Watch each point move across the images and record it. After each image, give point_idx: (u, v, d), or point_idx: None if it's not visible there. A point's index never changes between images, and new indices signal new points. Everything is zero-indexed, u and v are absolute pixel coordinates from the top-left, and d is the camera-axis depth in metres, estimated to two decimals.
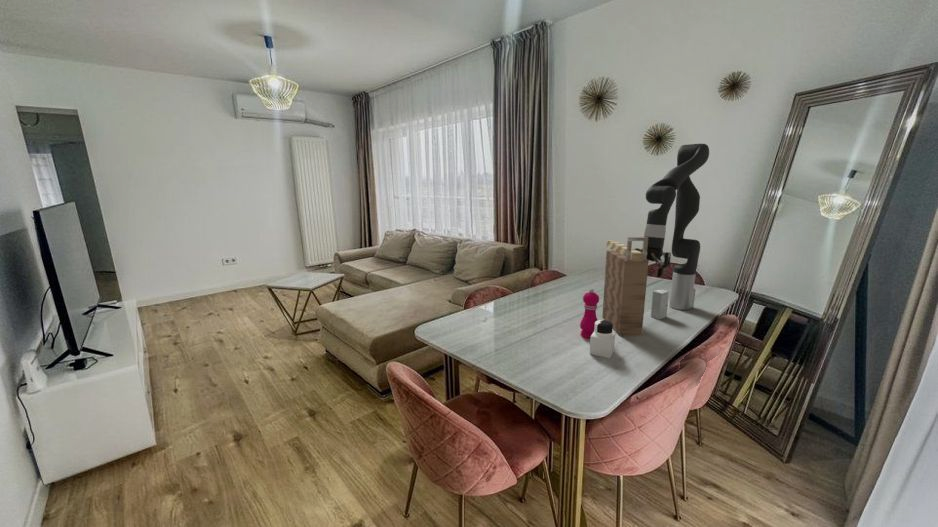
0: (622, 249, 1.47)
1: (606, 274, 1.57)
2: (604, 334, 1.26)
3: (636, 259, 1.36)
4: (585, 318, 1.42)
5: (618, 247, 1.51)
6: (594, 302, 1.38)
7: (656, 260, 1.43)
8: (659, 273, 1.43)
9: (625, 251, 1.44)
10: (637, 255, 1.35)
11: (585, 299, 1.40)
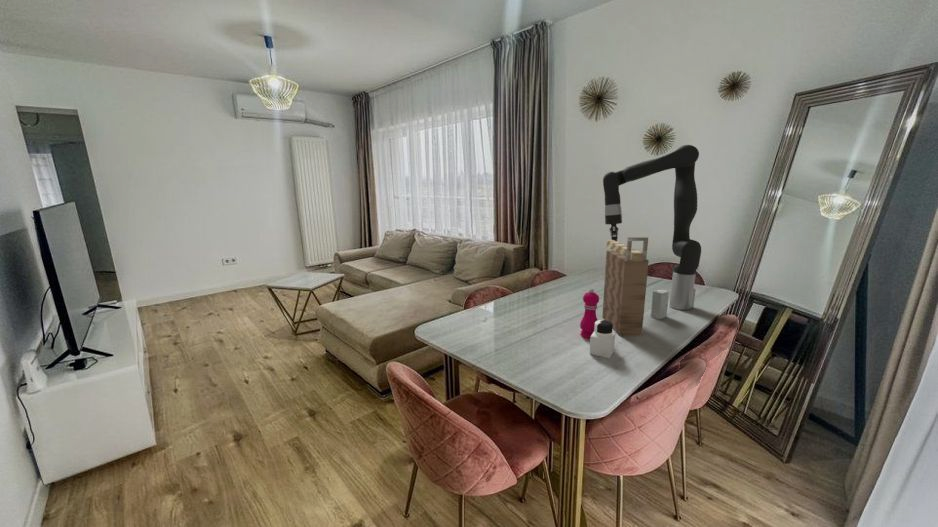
0: (622, 249, 1.47)
1: (606, 274, 1.57)
2: (604, 334, 1.26)
3: (636, 259, 1.36)
4: (585, 318, 1.42)
5: (618, 247, 1.51)
6: (594, 302, 1.38)
7: (610, 234, 1.73)
8: None
9: (625, 251, 1.44)
10: (637, 255, 1.35)
11: (585, 299, 1.40)
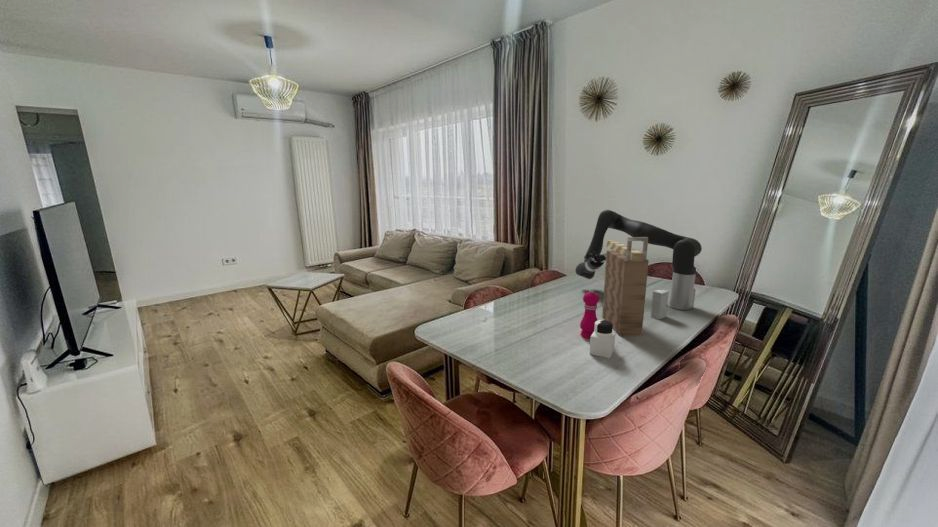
0: (622, 249, 1.47)
1: (606, 274, 1.57)
2: (604, 334, 1.26)
3: (636, 259, 1.36)
4: (585, 318, 1.42)
5: (618, 247, 1.51)
6: (594, 302, 1.38)
7: (593, 260, 1.79)
8: (593, 256, 1.74)
9: (625, 251, 1.44)
10: (637, 255, 1.35)
11: (585, 299, 1.40)
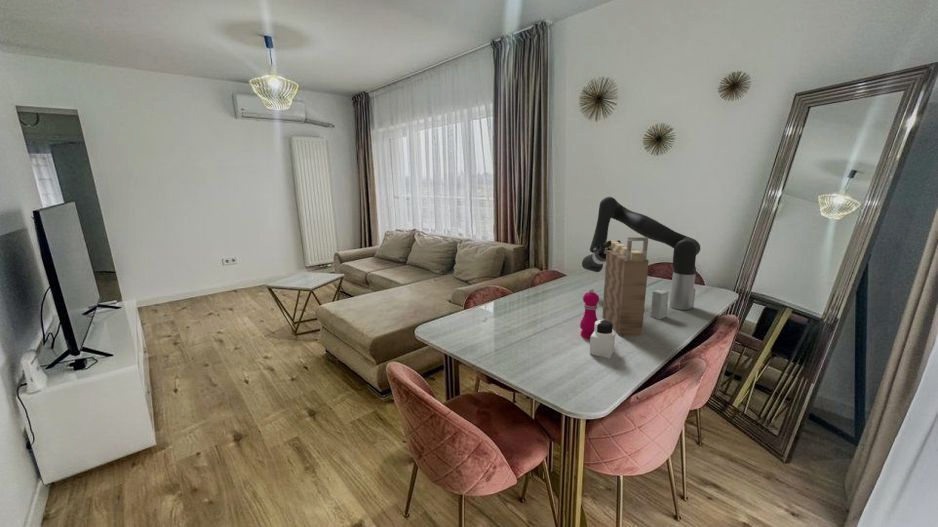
0: (622, 249, 1.47)
1: (606, 274, 1.57)
2: (604, 334, 1.26)
3: (636, 259, 1.36)
4: (585, 318, 1.42)
5: (618, 247, 1.51)
6: (594, 302, 1.38)
7: (605, 251, 1.65)
8: (608, 245, 1.60)
9: (625, 251, 1.44)
10: (637, 255, 1.35)
11: (585, 299, 1.40)
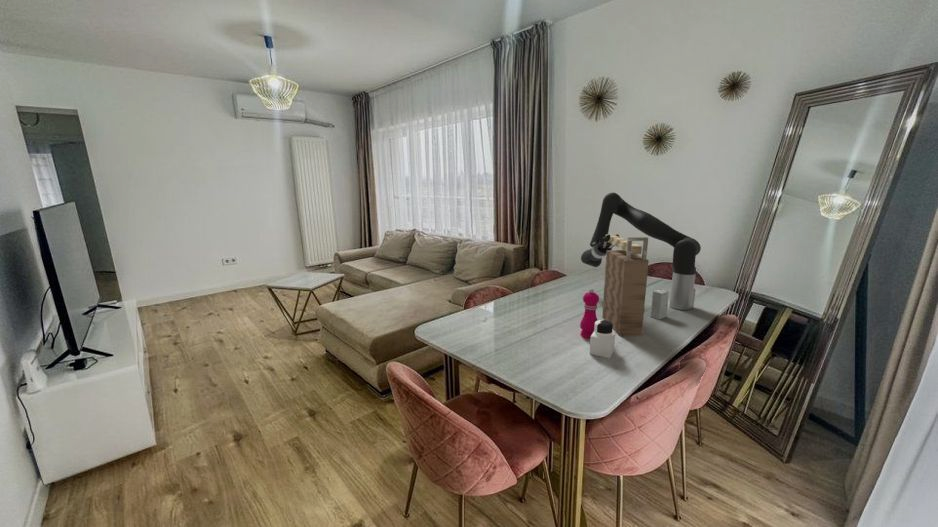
0: (621, 243, 1.48)
1: (606, 274, 1.57)
2: (604, 334, 1.26)
3: (635, 252, 1.37)
4: (585, 318, 1.42)
5: (617, 241, 1.52)
6: (594, 302, 1.38)
7: (604, 245, 1.67)
8: (607, 239, 1.62)
9: (624, 244, 1.45)
10: (636, 248, 1.36)
11: (585, 299, 1.40)
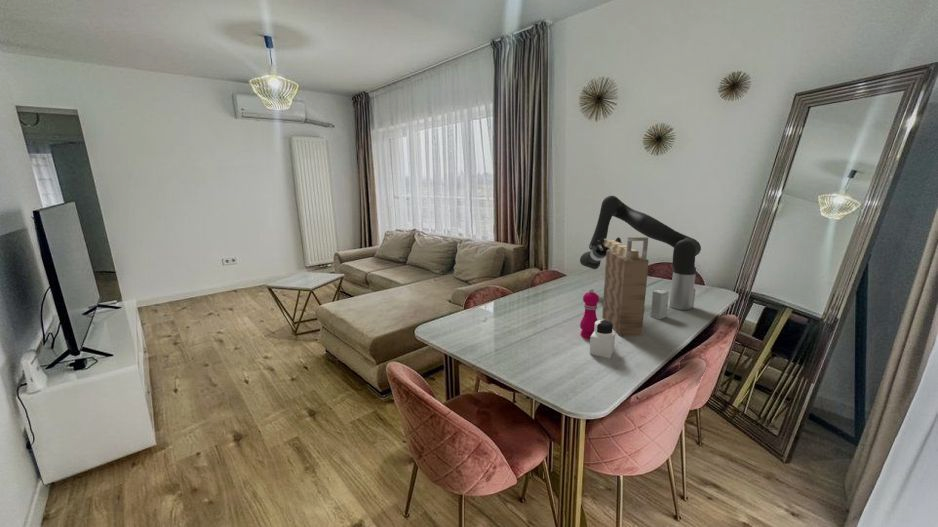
0: (618, 247, 1.51)
1: (606, 274, 1.57)
2: (604, 334, 1.26)
3: (631, 257, 1.40)
4: (585, 318, 1.42)
5: (614, 245, 1.55)
6: (594, 302, 1.38)
7: (600, 248, 1.69)
8: (601, 242, 1.65)
9: (621, 249, 1.48)
10: (633, 253, 1.39)
11: (585, 299, 1.40)
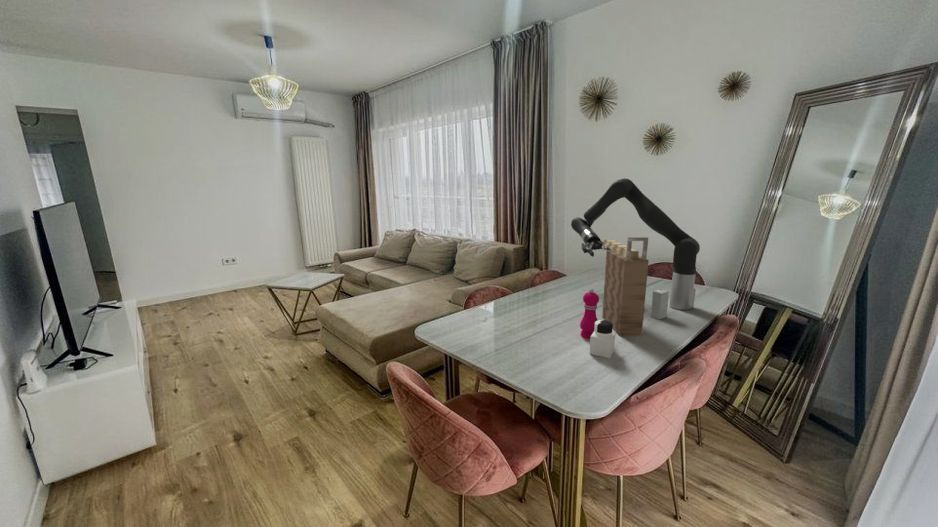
0: (618, 247, 1.51)
1: (606, 274, 1.57)
2: (604, 334, 1.26)
3: (631, 257, 1.40)
4: (585, 318, 1.42)
5: (614, 245, 1.55)
6: (594, 302, 1.38)
7: None
8: None
9: (621, 249, 1.48)
10: (633, 253, 1.39)
11: (585, 299, 1.40)
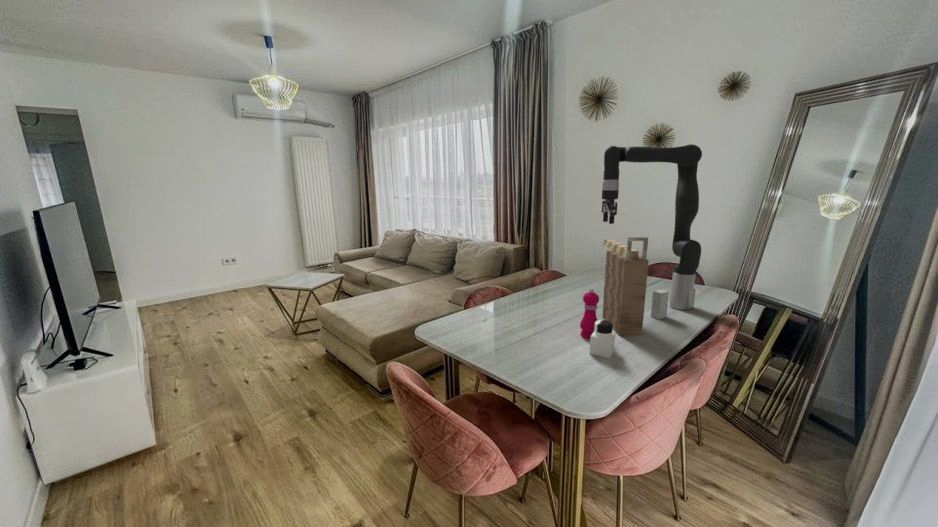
0: (618, 247, 1.51)
1: (606, 274, 1.57)
2: (604, 334, 1.26)
3: (631, 257, 1.40)
4: (585, 318, 1.42)
5: (614, 245, 1.55)
6: (594, 302, 1.38)
7: (607, 209, 1.74)
8: (609, 220, 1.73)
9: (621, 249, 1.48)
10: (633, 253, 1.39)
11: (585, 299, 1.40)
